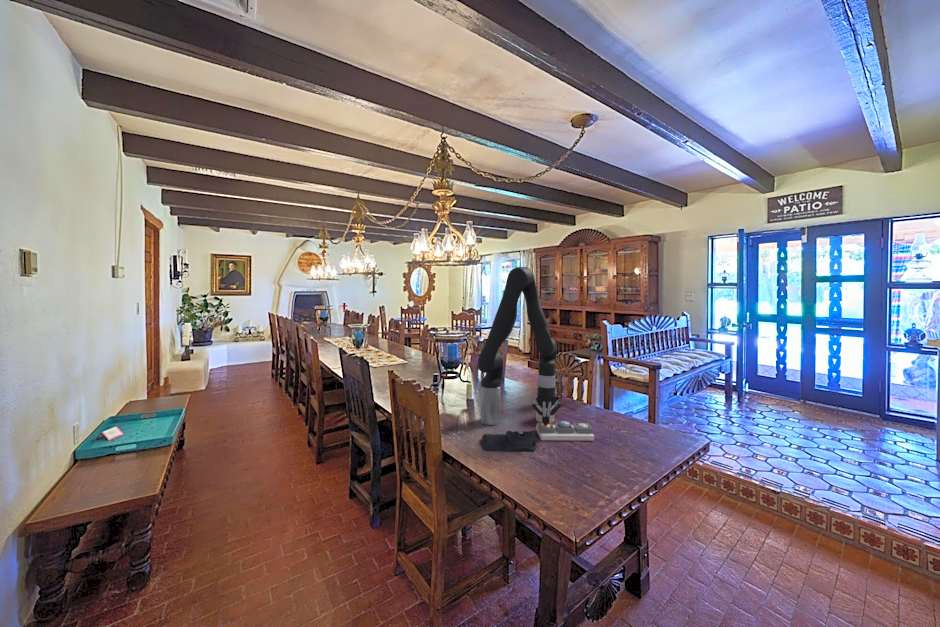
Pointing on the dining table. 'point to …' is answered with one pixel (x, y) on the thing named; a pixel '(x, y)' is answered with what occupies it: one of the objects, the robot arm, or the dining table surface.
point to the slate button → (564, 424)
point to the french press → (558, 388)
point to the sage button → (582, 425)
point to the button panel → (565, 432)
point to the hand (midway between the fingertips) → (545, 424)
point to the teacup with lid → (539, 417)
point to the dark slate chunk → (510, 442)
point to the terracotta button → (545, 426)
